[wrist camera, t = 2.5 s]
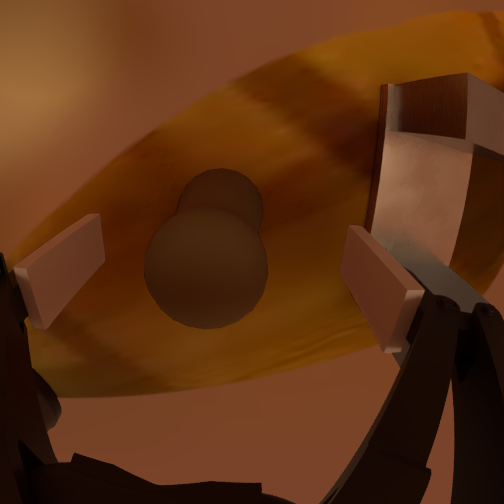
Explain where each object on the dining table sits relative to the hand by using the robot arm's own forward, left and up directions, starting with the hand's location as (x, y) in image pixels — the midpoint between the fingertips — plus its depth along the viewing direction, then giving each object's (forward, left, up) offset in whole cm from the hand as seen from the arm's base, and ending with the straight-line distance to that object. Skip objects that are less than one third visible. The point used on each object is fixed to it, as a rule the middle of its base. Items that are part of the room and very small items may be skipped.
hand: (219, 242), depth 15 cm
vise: (+15, +2, -7) cm, 17 cm away
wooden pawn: (0, 0, -7) cm, 7 cm away
